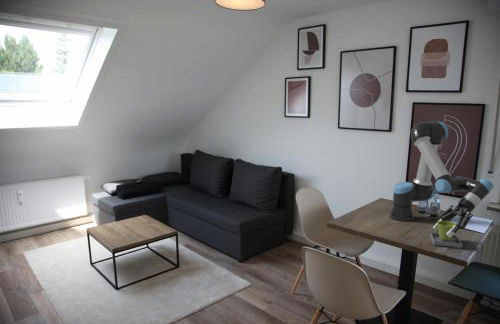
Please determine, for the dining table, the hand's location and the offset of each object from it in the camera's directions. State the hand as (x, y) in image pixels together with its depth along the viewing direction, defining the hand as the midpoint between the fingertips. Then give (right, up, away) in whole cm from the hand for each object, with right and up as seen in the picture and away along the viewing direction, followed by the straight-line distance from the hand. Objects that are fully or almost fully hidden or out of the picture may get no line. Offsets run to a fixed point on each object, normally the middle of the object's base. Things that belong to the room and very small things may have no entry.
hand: (441, 232), depth 186 cm
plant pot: (+3, -4, +1) cm, 5 cm away
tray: (+3, -6, +1) cm, 7 cm away
